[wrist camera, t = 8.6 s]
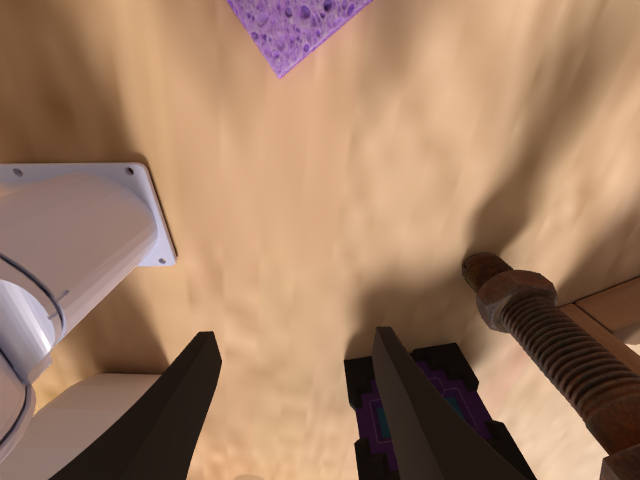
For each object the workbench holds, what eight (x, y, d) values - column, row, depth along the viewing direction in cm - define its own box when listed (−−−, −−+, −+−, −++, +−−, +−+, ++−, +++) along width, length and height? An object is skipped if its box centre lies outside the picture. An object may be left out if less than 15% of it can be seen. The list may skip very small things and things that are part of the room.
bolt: (487, 225, 20) (813, 463, 7) (524, 255, 22) (850, 496, 9) (432, 275, 22) (604, 525, 9) (470, 298, 24) (663, 543, 11)
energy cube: (343, 359, 28) (363, 518, 17) (455, 342, 27) (547, 496, 17) (357, 416, 34) (379, 560, 23) (450, 403, 33) (515, 546, 22)
